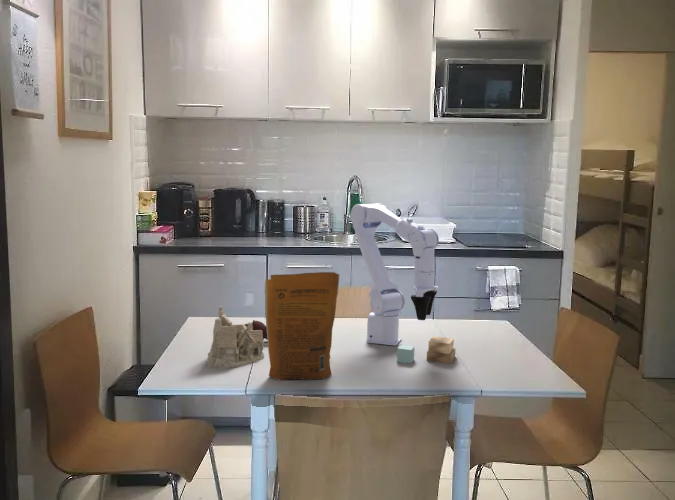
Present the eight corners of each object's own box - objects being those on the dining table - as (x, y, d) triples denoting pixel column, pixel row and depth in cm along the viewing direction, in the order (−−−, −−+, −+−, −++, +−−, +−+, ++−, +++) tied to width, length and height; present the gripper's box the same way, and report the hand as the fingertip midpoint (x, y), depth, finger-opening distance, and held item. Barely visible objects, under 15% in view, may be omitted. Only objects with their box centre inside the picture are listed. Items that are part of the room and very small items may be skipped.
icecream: (228, 324, 205) (278, 329, 206) (231, 312, 212) (280, 317, 213) (226, 344, 208) (276, 349, 209) (230, 332, 215) (278, 337, 216)
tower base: (426, 362, 195) (426, 351, 195) (431, 355, 202) (431, 345, 202) (451, 364, 193) (451, 354, 193) (455, 358, 200) (455, 348, 199)
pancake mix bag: (338, 381, 176) (341, 273, 172) (264, 382, 174) (264, 274, 170) (335, 373, 183) (337, 269, 179) (263, 374, 180) (264, 269, 176)
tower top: (428, 351, 195) (428, 341, 195) (432, 346, 201) (433, 336, 200) (449, 354, 193) (449, 343, 193) (453, 348, 199) (453, 338, 198)
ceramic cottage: (201, 367, 185) (205, 312, 183) (213, 352, 201) (216, 301, 199) (259, 372, 185) (263, 317, 183) (266, 356, 201) (270, 306, 199)
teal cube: (396, 362, 194) (397, 348, 193) (400, 358, 197) (400, 344, 197) (410, 363, 192) (411, 350, 192) (413, 359, 196) (414, 346, 195)
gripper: (433, 275, 191) (433, 323, 192) (442, 268, 205) (442, 313, 206) (408, 274, 193) (408, 321, 195) (419, 267, 207) (418, 312, 208)
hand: (424, 317), depth 200 cm, fingers open, 7 cm apart
